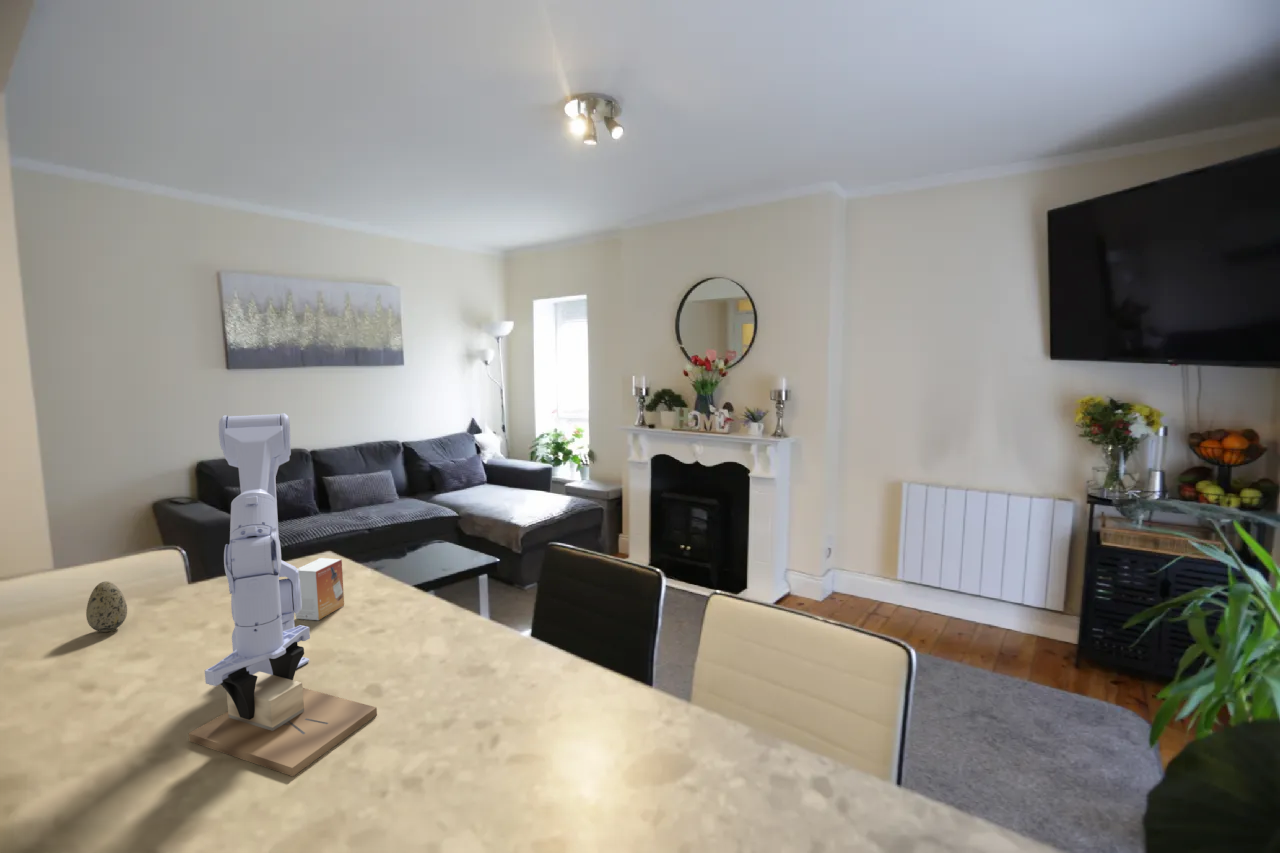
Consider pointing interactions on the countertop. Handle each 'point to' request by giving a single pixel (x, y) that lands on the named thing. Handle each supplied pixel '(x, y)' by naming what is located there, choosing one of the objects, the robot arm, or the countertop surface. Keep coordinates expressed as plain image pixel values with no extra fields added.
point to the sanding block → (272, 701)
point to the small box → (321, 588)
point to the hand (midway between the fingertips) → (265, 706)
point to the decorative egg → (106, 607)
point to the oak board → (287, 733)
